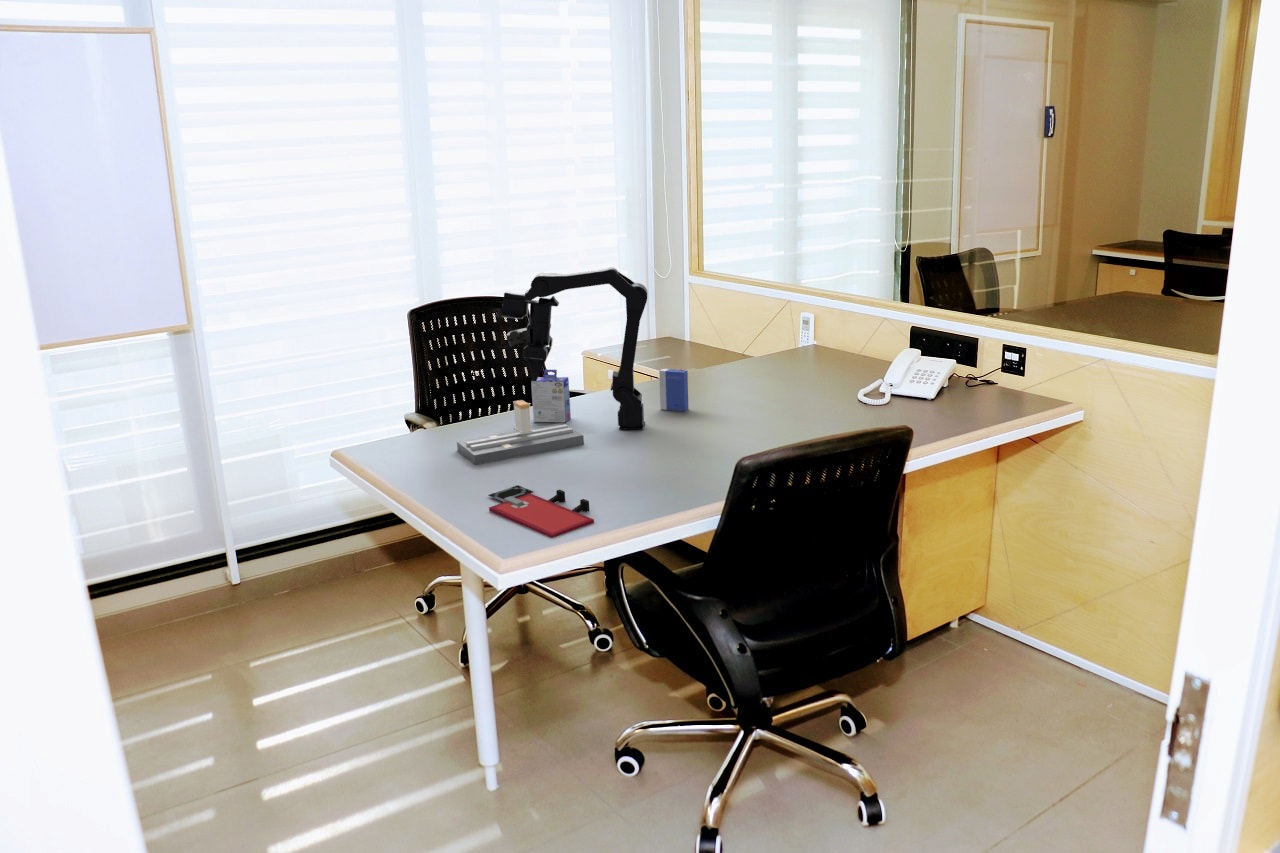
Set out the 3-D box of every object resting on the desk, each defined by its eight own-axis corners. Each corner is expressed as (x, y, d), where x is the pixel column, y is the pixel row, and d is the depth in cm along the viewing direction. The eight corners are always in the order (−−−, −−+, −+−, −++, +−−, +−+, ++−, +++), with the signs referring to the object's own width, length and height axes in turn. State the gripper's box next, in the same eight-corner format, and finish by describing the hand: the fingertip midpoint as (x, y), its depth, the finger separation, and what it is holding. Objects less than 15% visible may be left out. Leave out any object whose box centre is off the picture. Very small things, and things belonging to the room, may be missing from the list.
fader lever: (525, 433, 275) (522, 399, 273) (533, 438, 271) (530, 404, 268) (514, 435, 274) (511, 401, 272) (522, 440, 269) (519, 405, 267)
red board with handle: (524, 486, 243) (470, 504, 234) (523, 475, 242) (469, 493, 233) (607, 520, 222) (552, 541, 212) (607, 508, 221) (551, 529, 212)
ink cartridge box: (571, 417, 299) (568, 368, 294) (566, 423, 293) (563, 373, 289) (538, 417, 301) (535, 368, 296) (533, 422, 295) (529, 372, 291)
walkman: (688, 409, 302) (687, 369, 299) (684, 411, 300) (683, 371, 297) (664, 407, 306) (662, 367, 302) (660, 409, 303) (658, 369, 300)
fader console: (562, 431, 285) (561, 420, 284) (583, 444, 273) (583, 432, 272) (457, 450, 272) (456, 438, 271) (475, 464, 260) (474, 452, 259)
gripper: (514, 311, 288) (510, 366, 292) (505, 324, 270) (501, 382, 274) (554, 315, 288) (550, 370, 292) (548, 328, 270) (543, 386, 274)
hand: (535, 377), depth 283 cm, fingers open, 9 cm apart
